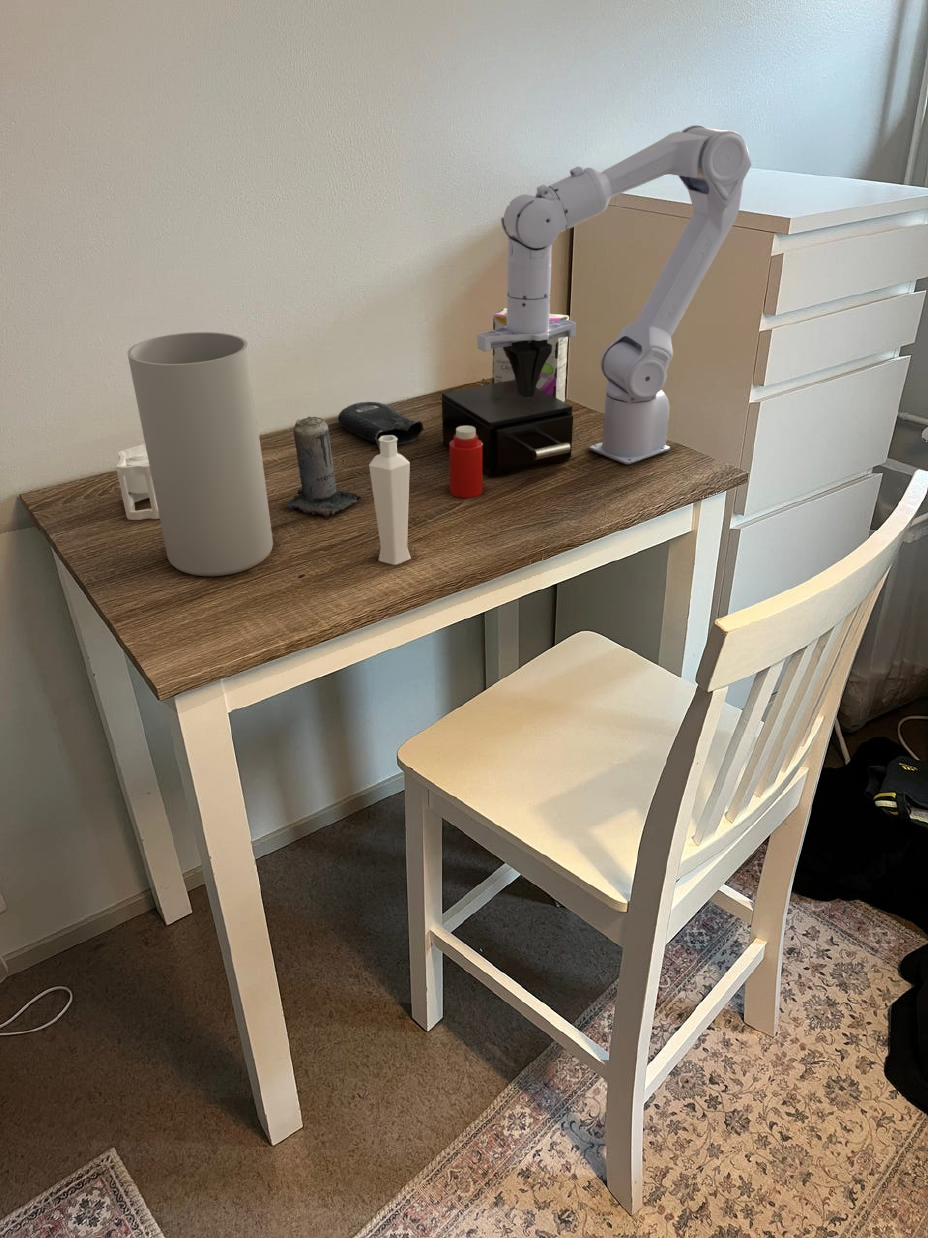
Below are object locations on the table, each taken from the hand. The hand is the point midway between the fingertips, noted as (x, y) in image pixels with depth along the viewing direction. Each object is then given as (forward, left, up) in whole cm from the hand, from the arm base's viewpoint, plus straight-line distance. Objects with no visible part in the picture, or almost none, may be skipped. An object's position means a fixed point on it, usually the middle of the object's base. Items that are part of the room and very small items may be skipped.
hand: (525, 394), depth 133 cm
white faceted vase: (+31, +12, -11) cm, 35 cm away
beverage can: (+30, -6, -11) cm, 32 cm away
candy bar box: (-14, -15, -11) cm, 23 cm away
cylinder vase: (+47, -2, -11) cm, 48 cm away
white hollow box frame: (+42, -21, -11) cm, 48 cm away
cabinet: (-1, -5, -10) cm, 12 cm away
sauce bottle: (+12, +2, -10) cm, 16 cm away
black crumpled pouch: (+9, -25, -11) cm, 29 cm away
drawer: (0, -1, -10) cm, 10 cm away
